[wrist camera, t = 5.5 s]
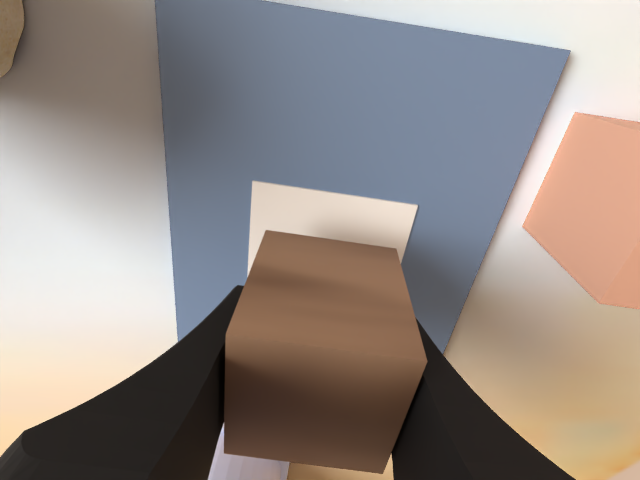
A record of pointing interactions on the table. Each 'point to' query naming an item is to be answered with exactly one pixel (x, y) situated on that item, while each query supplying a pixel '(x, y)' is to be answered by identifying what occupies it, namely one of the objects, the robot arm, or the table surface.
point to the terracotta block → (594, 208)
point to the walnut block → (321, 354)
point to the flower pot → (9, 31)
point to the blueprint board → (340, 142)
